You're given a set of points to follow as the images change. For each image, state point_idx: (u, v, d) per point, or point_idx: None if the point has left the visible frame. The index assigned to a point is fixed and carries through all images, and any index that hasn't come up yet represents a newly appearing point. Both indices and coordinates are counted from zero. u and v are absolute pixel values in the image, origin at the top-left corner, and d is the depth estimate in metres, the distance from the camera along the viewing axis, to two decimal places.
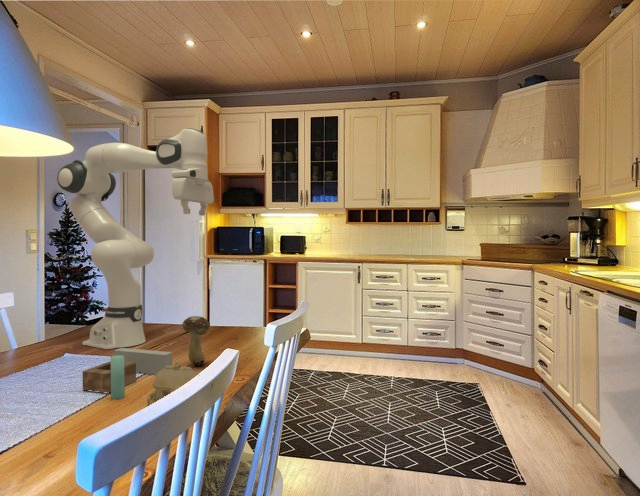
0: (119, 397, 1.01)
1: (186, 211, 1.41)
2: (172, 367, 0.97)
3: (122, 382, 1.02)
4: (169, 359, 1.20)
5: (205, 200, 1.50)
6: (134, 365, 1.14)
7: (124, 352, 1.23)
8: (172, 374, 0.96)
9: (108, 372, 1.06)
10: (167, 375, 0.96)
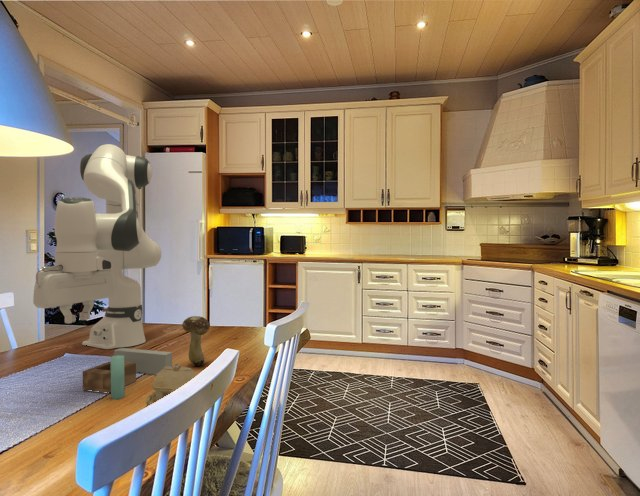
0: (119, 397, 1.01)
1: None
2: (172, 368, 0.97)
3: (122, 382, 1.02)
4: (169, 359, 1.20)
5: None
6: (134, 365, 1.14)
7: (124, 352, 1.23)
8: (171, 375, 0.95)
9: (108, 372, 1.06)
10: (167, 376, 0.95)
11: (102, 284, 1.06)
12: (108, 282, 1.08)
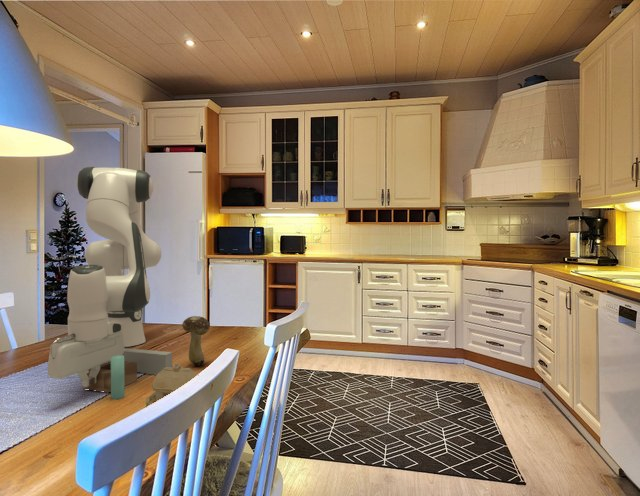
0: (119, 397, 1.01)
1: None
2: (172, 369, 0.96)
3: (122, 382, 1.02)
4: (169, 359, 1.20)
5: None
6: (135, 365, 1.14)
7: (124, 352, 1.23)
8: (172, 376, 0.95)
9: (109, 372, 1.06)
10: (167, 377, 0.95)
11: (112, 346, 1.09)
12: (118, 343, 1.11)
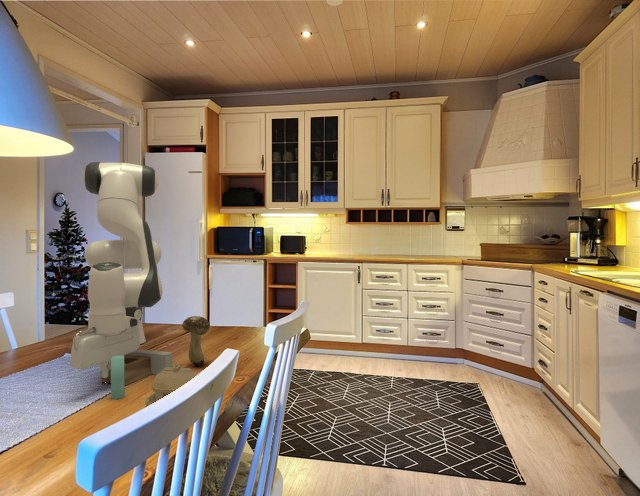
0: (119, 397, 1.01)
1: None
2: (172, 369, 0.96)
3: (122, 382, 1.02)
4: (169, 359, 1.20)
5: None
6: (149, 359, 1.19)
7: None
8: (172, 376, 0.95)
9: (125, 365, 1.12)
10: (167, 377, 0.95)
11: (129, 340, 1.15)
12: (134, 337, 1.17)
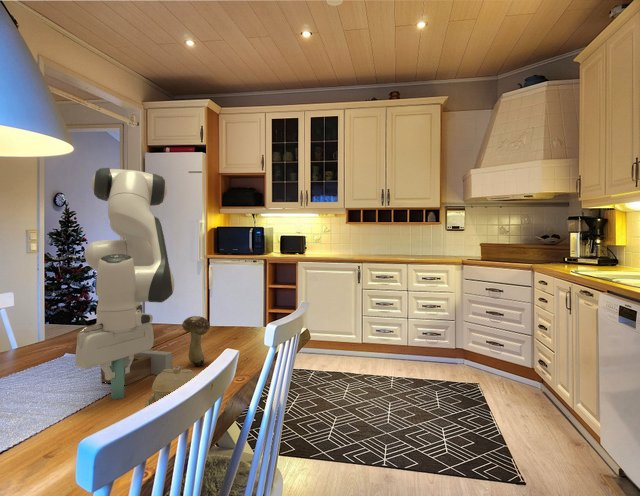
0: (119, 397, 1.01)
1: None
2: (172, 370, 0.95)
3: (122, 382, 1.02)
4: (169, 359, 1.20)
5: None
6: (149, 359, 1.19)
7: None
8: (172, 378, 0.94)
9: None
10: (168, 379, 0.94)
11: (141, 338, 1.07)
12: (147, 335, 1.09)
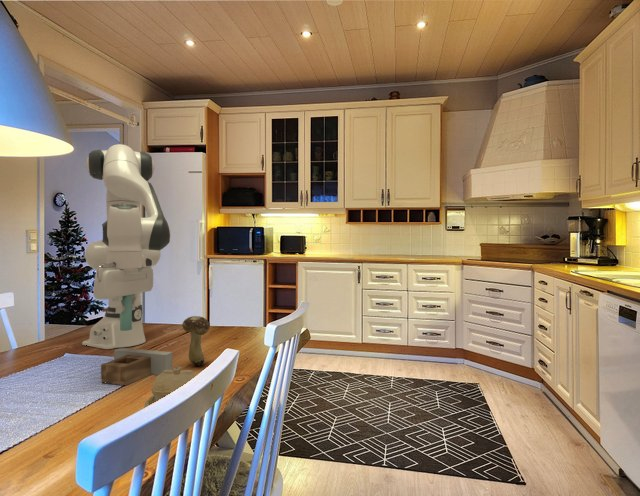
0: (128, 329, 1.15)
1: None
2: (172, 371, 0.94)
3: (130, 316, 1.16)
4: (169, 359, 1.20)
5: None
6: (149, 359, 1.19)
7: (124, 352, 1.23)
8: (172, 379, 0.93)
9: (125, 365, 1.12)
10: (168, 380, 0.93)
11: (144, 279, 1.21)
12: (148, 278, 1.23)
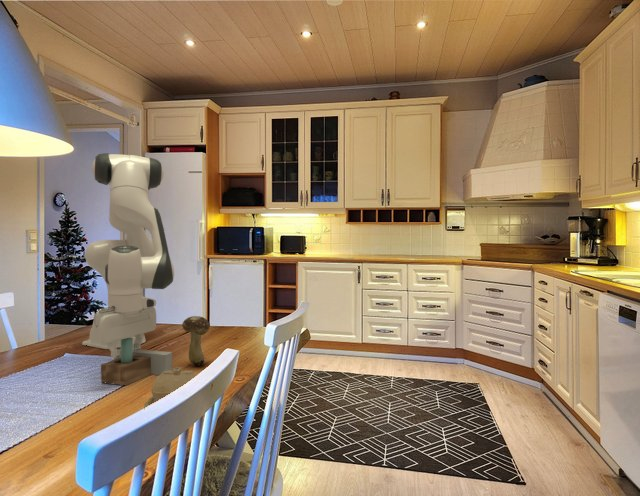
0: None
1: None
2: (172, 372, 0.94)
3: (131, 361, 1.16)
4: (169, 359, 1.20)
5: None
6: (149, 359, 1.19)
7: None
8: (173, 379, 0.93)
9: (125, 365, 1.12)
10: (168, 380, 0.92)
11: (146, 320, 1.21)
12: (151, 318, 1.23)
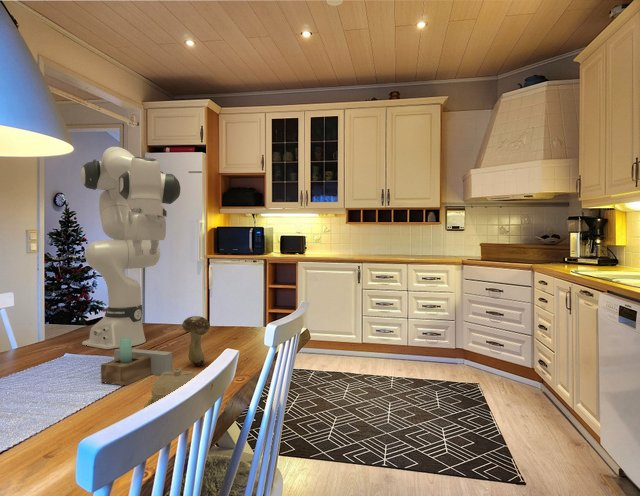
0: None
1: None
2: (172, 373, 0.93)
3: (130, 361, 1.16)
4: (169, 359, 1.20)
5: None
6: (149, 359, 1.19)
7: None
8: (173, 380, 0.92)
9: (125, 365, 1.12)
10: (168, 382, 0.92)
11: (160, 228, 1.33)
12: (162, 227, 1.34)
